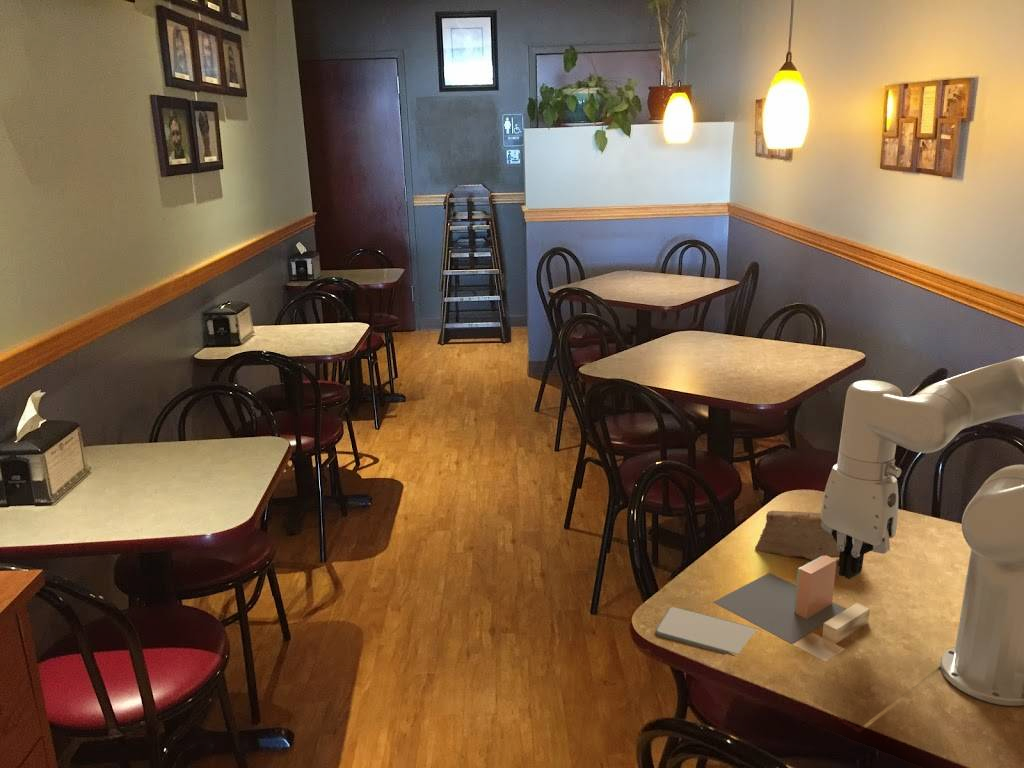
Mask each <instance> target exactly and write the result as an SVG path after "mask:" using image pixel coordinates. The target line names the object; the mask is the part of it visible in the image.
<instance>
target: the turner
mask: <svg viewBox="0 0 1024 768" xmlns="http://www.w3.org/2000/svg"><path fill="white" fill-rule="evenodd" d="M870 609H871V608H869V607H866V606H864V605H862V604H860V603H858V602H856V603H854V604H853V605H851V606H849V607H848V608H846V610H844V611H843V612H841V613H839V614H838V615H836V616H834V617H833V618H831V619H829V620H828V621H826V622H825V623H824V624H823V625H822V627H823V628H822V636H821V635H818V634H816V632H815V633H814V632H810V633H809V634H807V635H805V636H804V637H802V638H800V639H799V640H797V641H796V642H794V643H792V645H793V646H794V647H797V648H798V649H800V650H803V651H804V652H807V653H808V654H810V655H812V656H814V657H816V658H817V659H820V660H821V661H823V662H825V663H827V662H828V661H830V660H831V659H833V658H835V656H837V655H838V654H840V653H842V652H844V651H845V650H846V648H844V647H843V646H840V645H838V643H839V642H841V641H842V640H845V638H847V637H849V636H850V635H851V634H853V633H854V632H857V631H858V630H859V629H862V628H863V627H864V626H866V625H867V624H868V623H869V618H870Z"/></svg>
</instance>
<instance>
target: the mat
mask: <svg viewBox="0 0 1024 768" xmlns="http://www.w3.org/2000/svg"><path fill="white" fill-rule="evenodd" d="M796 585H797V584H795V583H793V582H791V581H788V580H787V579H784V578H782V577H780V576H777V575H776V574H773V573H772V572H768V573H766V574H764V575H762V576H760V577H758V578H756V579H755V580H753V581H750V582H748V583H747V584H745V585H743V586H741V587H739V588H737V589H735V590H733V591H731V592H729V593H728V594H725V595H724V596H722V597H720V598H718V599H716V600H714V601H713V603H714V604H716V605H718V606H720V607H722V608H723V609H726V610H727V611H729V612H731V613H733V614H734V615H736V616H738V617H741V618H742V619H744V620H746V621H748V622H750V623H752V624H753V625H755V626H757V627H759V628H761V629H763V630H764V631H767V632H769V633H770V634H772V635H774V636H776V637H777V638H780V639H782V640H783V641H785V642H787V643H789V644H792V645H793V644H795V643H796V642H798V641H800V640H801V639H803V638H804V637H806V636H808V635H809V634H811V633H813V632H814V631H816V630H817V629H819V628H820V627H823V625H824V623H825V622H826V621H828V620H829V619H831V618H833V617H834V616H836V615H838V614H839V613H841V612H843V611H844V610H846V609H847V608H846V607H844V606H843V605H839V604H838V603H835V602H834V601H832V604H831V605H829V606H827V607H826V608H824V609H822V610H821V611H819V612H817V613H816V614H814V615H812V616H811V617H809V618H807V619H806V618H804V617H802V616H800V615H798V614H796V611H794V607H795V596H796Z"/></svg>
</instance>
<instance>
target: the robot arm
mask: <svg viewBox="0 0 1024 768" xmlns="http://www.w3.org/2000/svg"><path fill="white" fill-rule="evenodd" d="M903 395H904V394H903V392H902V390H901V389H900V388H899V387H898V386H896V385H894V384H892V383H889V382H887V381H881V380H874V379H866V380H865V379H864V380H858V381H855V382H853V383H851V384H850V385H849V387H848V388H847V391H846V396H845V404H844V408H843V409H844V410H843V419H842V424H841V425H842V426H841V432H840V441H839V447H838V454H837V455H838V456H837V463H836V464H834V465H833V466H832V468H831V471H830V473H829V476H828V479H827V482H826V485H825V488H824V489H825V490H824V493H823V498H822V503H821V511H820V513H821V520H822V523H821V527H822V528H823V529H825V530H826V531H827V532H829V533H830V534H832V536H833V537H834V539H835V541H836V542H837V548H838V550H839V551H840V556H839V558H838V564H837V565H838V568H839V570H838V576H840V577H844V578H845V579H847V580H850V579H853V578H854V577H855V576H858V575H859V574H861V572H862V570H863V563H864V557H865V554H868V553H869V552H873V553H876V554H881V555H884V554H886V553H888V552H890V551H891V545H890V539H893V538H894V537H895V536H896V533H897V525H898V516H899V485H898V480H897V479H898V478H899V477H900V476H901V475H902V469H901V468H900V467H897V466H896V465H895V463H896V459H895V455H896V449H897V446H900V447H902V448H903V449H904V448H905V449H906V450H909V451H912V452H916V453H920V454H931V453H935V452H937V451H938V452H939V451H941V449H944V448H945V447H946V446H947V445H948V444H949V443H950V442H951V441H952V440H953V439H954V438H955V437H956V435H958V434H959V433H960V432H961V431H962V430H964V429H967V428H970V427H974V426H977V425H981V424H984V423H988V422H990V421H994V420H998V419H1001V418H1005V417H1010V416H1016V415H1017V416H1018V415H1024V355H1020V356H1017V357H1014V358H1011V359H1008V360H1005V361H1001V362H997V363H993V364H990V365H986V366H983V367H979V368H976V369H974V370H970V371H967V372H965V373H961V374H957V375H955V376H952V377H950V378H949V377H948V378H946V379H944V380H941V381H938V382H935V383H932V384H930V385H927V386H925V388H923V389H922V390H920V391H918V392H917V393H916V394H915V395H911V396H903ZM961 532H962V536H963V539H964V541H965V542H966V544H967V545H968V547H969V548H970V549H971V550H970V554H969V555H970V556H969V560H968V568H967V573H966V578H965V585H964V591H963V597H962V605H961V609H960V616H959V622H958V629H957V635H956V642H955V646H953V647H952V646H951V648H948V649H947V650H945V651H944V652H943V653H942V655H941V658H940V670H941V673H942V674H943V676H944V677H945V679H946V680H947V681H948V682H949V683H950V684H952V685H953V686H954V687H955V688H957V689H958V690H960V691H962V692H963V693H965V694H966V695H968V696H970V697H971V696H972V697H973V698H975V699H977V700H981V701H982V702H983V701H984V702H987V703H991V704H994V705H1002V706H1007V707H1008V706H1010V707H1019V706H1024V464H1013V465H1009V466H1005V467H1003V468H1001V469H999V470H996V471H995V472H994V473H993V474H991V475H990V476H989V477H988V478H987V479H986V480H985V481H984V482H983V484H982V485H981V487H980V488H979V489H978V490H977V492H976V493H975V494H974V496H973V497H972V499H971V500H970V501H969V503H968V504H967V505H966V508H965V509H964V512H963V515H962V518H961ZM854 538H855V542H854Z"/></svg>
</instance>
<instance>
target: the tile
mask: <svg viewBox="0 0 1024 768" xmlns="http://www.w3.org/2000/svg"><path fill="white" fill-rule="evenodd" d="M836 570H837V559H836V558H831V557H829V556H826V555H825V556H821V557H819V558H817V559H815V560H813V561H812V560H811V561H809V562H807V563H806V564H804V565H802V566H800V567H798V568H797V576H796V577H797V578H796V584H795V585H796V596H795V607H794V611H796V614H798V615H800V616H802V617H804V618H806V619H807V618H809V617H811V616H812V615H814V614H816V613H817V612H819V611H821V610H822V609H824V608H826V607H827V606H829V605H831V604H832V602H833V600H834V591H835V590H834V589H835V588H834V587H835V579H836Z"/></svg>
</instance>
